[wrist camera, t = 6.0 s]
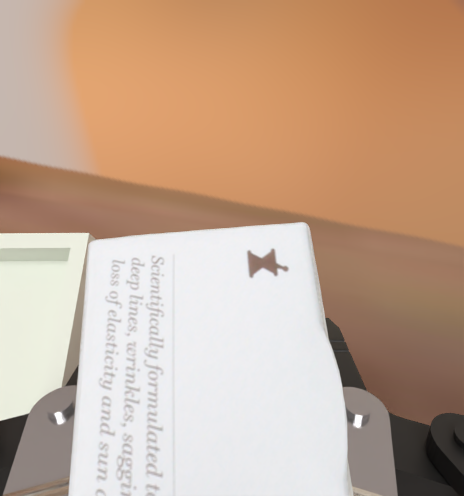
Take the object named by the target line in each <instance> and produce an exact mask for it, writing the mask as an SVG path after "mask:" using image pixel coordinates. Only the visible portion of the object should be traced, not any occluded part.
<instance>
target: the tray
mask: <svg viewBox="0 0 464 496" xmlns="http://www.w3.org/2000/svg"><path fill="white" fill-rule="evenodd" d="M93 240H96V239H95V238H94V237H93V236H92V235H91V234H90V233H12V234H0V421H1V420H5V419H9V418H13V417H17V416H21V415H25V414H28V413H30V411H31V409H32V407H33V406H34V405H35V404H36V403H37V402H38V401H39V400H40V399H41V398H42V397H44V396H45V395H46V394H48V393H50V392H52V391H54V390H56V389H58V388H61V387H65V385H66V384H67V382H68V381H69V379H70V377H71V376H72V374H73V372H74V371H75V369H76V368H77V366H78V364H79V355H80V342H81V330H82V318H83V306H84V293H85V279H86V265H87V254H88V244H89V243H90V242H91V241H93Z"/></svg>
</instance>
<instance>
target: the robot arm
mask: <svg viewBox="0 0 464 496" xmlns="http://www.w3.org/2000/svg"><path fill="white" fill-rule="evenodd" d="M325 320H326V326H327V332H328V338H329V342H330V344H331V347H332V349H333V352H334V356H335V359H336V362H337V365H338V369H339V372H340V377H341V382H342V388H343V396H344V401H345V408H346V416H347V439H348V452H347V458H348V464H349V471H350V477H351V484H352V490H353V496H464V415H459V414H454V413H445V414H441V415H438V416H436V417H435V418H434V419H433V421H432V423H431V426H429V425H425V424H422V423H418V422H415V421H411V420H407V419H404V418H401V417H398V416H395V415H393V414H391V413H389V412H388V411H387V409H386V408H385V406H384V405H383V403H382V402H381V401H380V400H379V399H378V398H377V397H375V396H374V395H372V394H371V393H369V392H367V390H366V388H365V386H364V384H363V381H362V379H361V377H360V374H359V372H358V370H357V368H356V365H355V363H354V361H353V358H352V356H351V354H350V352H349V349H348V347H347V345H346V343H345V342H344V338H343V336H342V333H341V331H340V329H339V327H337V326H336V325H335V324H334V323H333V322H332V321H331V320H330V319H329V318H325ZM78 367H79V364H78V366H77V368H76V369H75V371H74V372H73V374H72V376H71V377H70V379H69V381H68V382H67V384H66V385H65V387H61V388H58V389H56V390H54V391H52V392H50V393H48V394H46V395H45V396H44V397H42V398H41V399H40V400H39V401H38V402H37V403H36V404H35V405H34V406H33V407H32V409H31V411H30V413H28V414H25V415H21V416H17V417H13V418H9V419H5V420H1V421H0V496H68V494H69V481H70V468H71V455H72V442H73V429H74V417H75V404H76V392H77V379H78Z"/></svg>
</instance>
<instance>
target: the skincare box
mask: <svg viewBox="0 0 464 496" xmlns="http://www.w3.org/2000/svg"><path fill="white" fill-rule="evenodd" d="M347 452H348V439H347V416H346V408H345V401H344V396H343V388H342V382H341V377H340V372H339V369H338V365H337V362H336V359H335V356H334V352H333V349H332V347H331V344H330V342H329V338H328V332H327V326H326V320H325V314H324V309H323V303H322V297H321V290H320V284H319V278H318V273H317V267H316V262H315V257H314V251H313V244H312V238H311V233H310V228H309V227H308V225H307V224H306V223H304V222H299V223H289V224H274V225H261V226H246V227H235V228H223V229H209V230H197V231H186V232H172V233H161V234H146V235H136V236H126V237H119V238H110V239H99V240H93V241H91V242H90V243H89V244H88V254H87V265H86V279H85V293H84V306H83V318H82V330H81V342H80V355H79V367H78V379H77V392H76V404H75V417H74V429H73V442H72V455H71V468H70V481H69V494H68V496H353V490H352V484H351V477H350V471H349V464H348V458H347Z"/></svg>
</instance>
